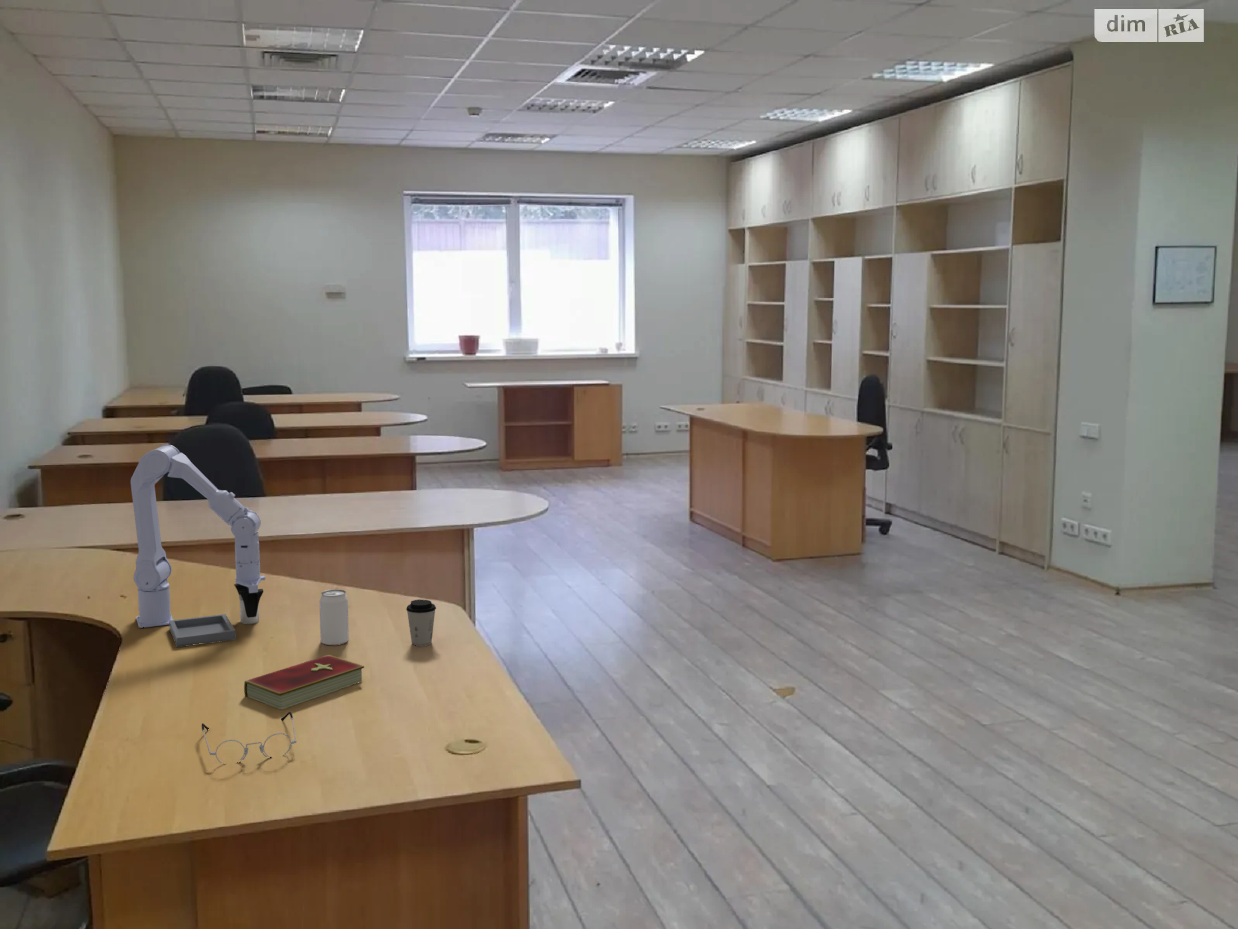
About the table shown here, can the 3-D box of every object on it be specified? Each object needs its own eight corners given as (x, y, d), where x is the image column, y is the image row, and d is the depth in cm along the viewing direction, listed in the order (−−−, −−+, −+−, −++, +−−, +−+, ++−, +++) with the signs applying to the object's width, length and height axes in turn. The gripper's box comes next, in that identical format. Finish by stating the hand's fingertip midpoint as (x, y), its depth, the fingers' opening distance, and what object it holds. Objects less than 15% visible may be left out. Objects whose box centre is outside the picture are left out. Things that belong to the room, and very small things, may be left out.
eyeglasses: (206, 772, 186) (205, 745, 185) (200, 732, 203) (199, 706, 202) (302, 758, 192) (301, 731, 192) (289, 720, 209) (288, 695, 208)
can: (341, 647, 251) (340, 597, 249) (315, 645, 253) (314, 595, 251) (353, 638, 258) (352, 590, 256) (328, 636, 259) (327, 588, 257)
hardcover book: (244, 698, 220) (243, 679, 219) (328, 671, 236) (327, 653, 236) (280, 713, 213) (279, 692, 212) (364, 683, 229) (364, 664, 229)
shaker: (238, 620, 271) (237, 593, 270) (257, 617, 273) (256, 591, 272) (241, 625, 267) (240, 597, 266) (261, 622, 269) (260, 595, 268)
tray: (169, 629, 262) (169, 620, 262) (225, 622, 268) (225, 614, 268) (176, 647, 249) (176, 638, 249) (235, 639, 255) (235, 630, 255)
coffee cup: (442, 643, 255) (442, 602, 254) (418, 650, 250) (417, 608, 248) (424, 636, 260) (424, 596, 258) (400, 643, 255) (399, 602, 253)
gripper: (269, 565, 263) (271, 619, 265) (258, 553, 275) (260, 604, 278) (239, 568, 260) (241, 623, 262) (229, 555, 272) (232, 607, 274)
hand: (249, 614), depth 269 cm, fingers open, 5 cm apart
